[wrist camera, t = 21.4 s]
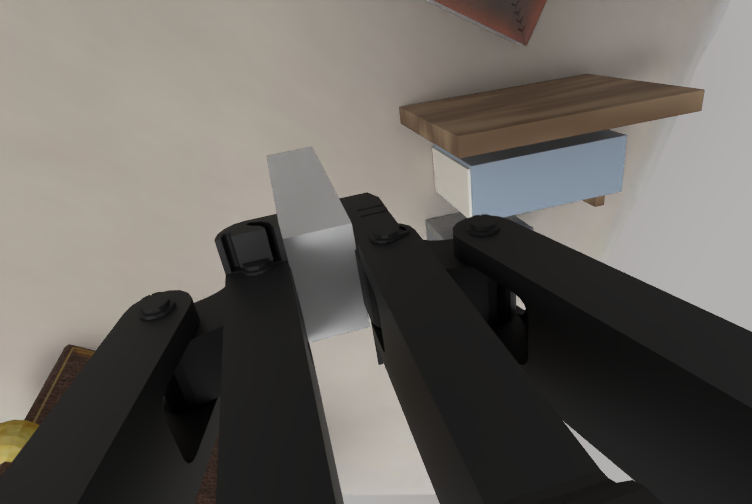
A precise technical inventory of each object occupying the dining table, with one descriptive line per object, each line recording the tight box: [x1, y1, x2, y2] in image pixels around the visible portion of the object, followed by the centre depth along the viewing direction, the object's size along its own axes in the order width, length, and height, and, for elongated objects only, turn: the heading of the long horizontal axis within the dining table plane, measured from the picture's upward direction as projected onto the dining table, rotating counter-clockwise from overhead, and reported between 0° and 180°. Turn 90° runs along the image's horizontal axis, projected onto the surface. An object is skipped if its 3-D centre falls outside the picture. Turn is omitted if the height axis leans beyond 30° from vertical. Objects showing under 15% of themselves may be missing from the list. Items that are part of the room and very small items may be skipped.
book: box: [0, 345, 219, 504], centre depth 40 cm, size 22×8×25 cm, turn 63°
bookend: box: [426, 212, 533, 240], centre depth 49 cm, size 6×8×7 cm
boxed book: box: [432, 129, 627, 218], centre depth 46 cm, size 5×14×9 cm, turn 97°
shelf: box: [399, 74, 704, 207], centre depth 43 cm, size 12×19×14 cm, turn 97°
